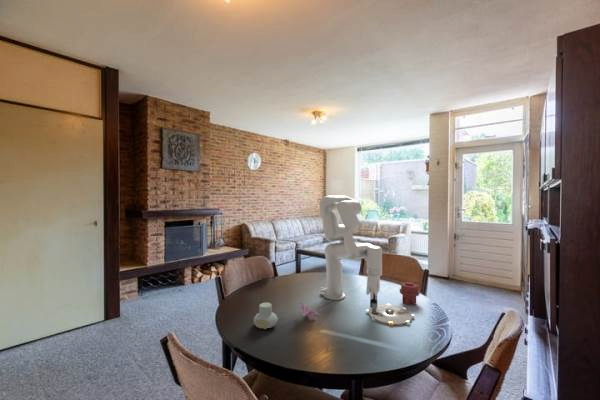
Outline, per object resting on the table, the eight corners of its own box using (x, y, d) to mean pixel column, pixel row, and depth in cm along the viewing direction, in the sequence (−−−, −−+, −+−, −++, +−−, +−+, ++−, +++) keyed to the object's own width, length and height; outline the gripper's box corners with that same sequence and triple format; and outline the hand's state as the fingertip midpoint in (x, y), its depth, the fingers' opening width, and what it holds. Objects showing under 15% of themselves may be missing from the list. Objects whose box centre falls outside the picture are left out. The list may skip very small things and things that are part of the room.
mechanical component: (417, 302, 155) (421, 309, 145) (398, 301, 157) (401, 308, 147) (417, 280, 154) (421, 286, 145) (398, 279, 156) (401, 285, 147)
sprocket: (391, 330, 120) (391, 316, 120) (357, 312, 139) (357, 299, 139) (424, 319, 131) (424, 305, 131) (388, 303, 150) (388, 291, 150)
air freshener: (279, 323, 130) (279, 302, 130) (273, 332, 122) (273, 309, 122) (258, 320, 133) (257, 300, 133) (251, 329, 125) (250, 307, 125)
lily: (319, 328, 127) (324, 307, 131) (296, 322, 124) (302, 300, 128) (308, 325, 138) (313, 306, 141) (287, 319, 135) (293, 299, 138)
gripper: (369, 266, 145) (369, 300, 146) (363, 274, 132) (362, 311, 133) (384, 268, 142) (383, 303, 143) (379, 276, 129) (378, 314, 129)
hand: (373, 307), depth 138 cm, fingers closed
